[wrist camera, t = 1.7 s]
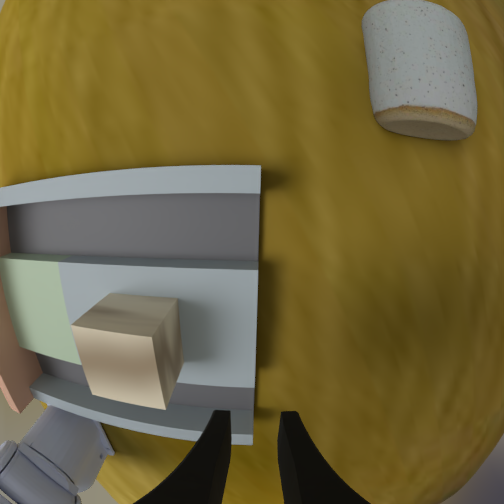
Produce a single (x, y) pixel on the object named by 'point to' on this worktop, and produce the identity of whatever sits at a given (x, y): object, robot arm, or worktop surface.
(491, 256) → the worktop surface
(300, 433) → the robot arm
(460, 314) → the worktop surface
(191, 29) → the worktop surface
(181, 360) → the birch block
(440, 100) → the ceramic mug
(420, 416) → the worktop surface
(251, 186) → the box
